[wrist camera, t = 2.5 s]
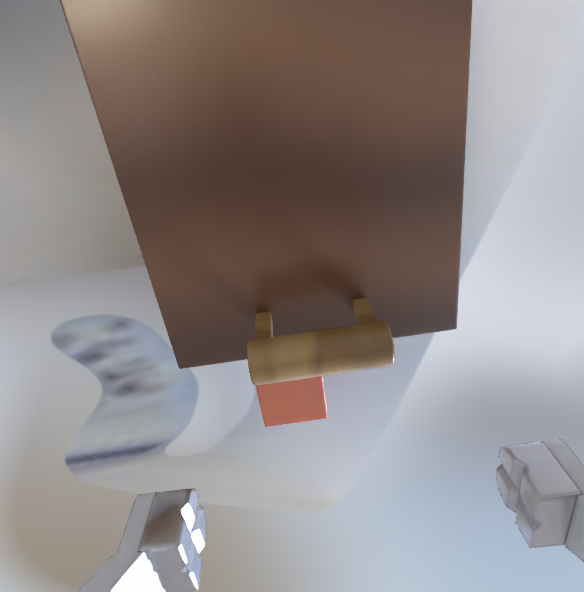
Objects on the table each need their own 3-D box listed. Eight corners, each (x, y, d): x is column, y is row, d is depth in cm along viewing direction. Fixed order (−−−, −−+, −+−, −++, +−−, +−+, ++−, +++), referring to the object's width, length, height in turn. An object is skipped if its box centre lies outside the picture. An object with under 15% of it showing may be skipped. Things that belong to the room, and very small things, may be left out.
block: (265, 386, 34) (265, 427, 30) (255, 339, 32) (253, 376, 28) (321, 378, 34) (328, 418, 30) (314, 331, 32) (321, 367, 28)
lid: (451, 321, 21) (500, 386, 17) (181, 360, 22) (158, 434, 17) (468, -115, 14) (567, -212, 9) (53, -46, 14) (-52, -108, 9)
